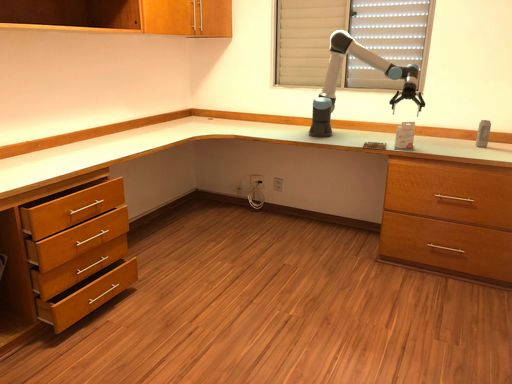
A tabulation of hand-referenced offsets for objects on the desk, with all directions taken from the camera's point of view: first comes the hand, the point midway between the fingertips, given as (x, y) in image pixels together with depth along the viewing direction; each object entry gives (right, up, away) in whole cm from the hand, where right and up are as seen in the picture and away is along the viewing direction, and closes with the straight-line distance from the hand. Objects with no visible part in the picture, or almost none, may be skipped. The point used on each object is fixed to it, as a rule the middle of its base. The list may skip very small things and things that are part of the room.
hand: (405, 114), depth 250 cm
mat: (-4, -20, -8) cm, 22 cm away
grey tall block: (+42, -20, -4) cm, 47 cm away
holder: (-19, -19, -4) cm, 27 cm away
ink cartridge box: (-4, -20, -8) cm, 22 cm away
